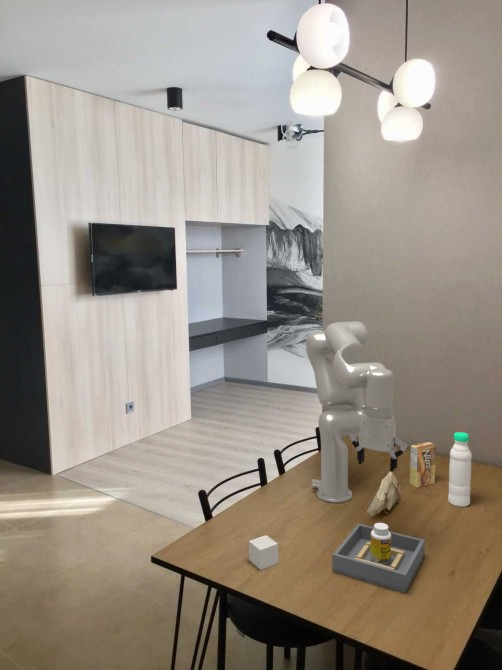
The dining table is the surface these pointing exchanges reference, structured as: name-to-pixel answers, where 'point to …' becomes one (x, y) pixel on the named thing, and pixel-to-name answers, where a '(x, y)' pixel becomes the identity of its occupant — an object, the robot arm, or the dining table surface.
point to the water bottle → (460, 471)
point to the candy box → (422, 464)
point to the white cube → (263, 552)
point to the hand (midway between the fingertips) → (376, 466)
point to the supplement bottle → (380, 544)
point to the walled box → (358, 564)
